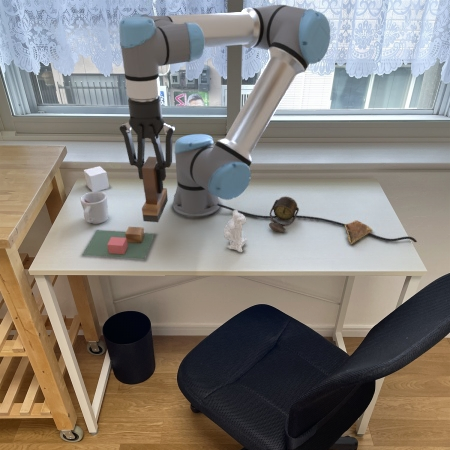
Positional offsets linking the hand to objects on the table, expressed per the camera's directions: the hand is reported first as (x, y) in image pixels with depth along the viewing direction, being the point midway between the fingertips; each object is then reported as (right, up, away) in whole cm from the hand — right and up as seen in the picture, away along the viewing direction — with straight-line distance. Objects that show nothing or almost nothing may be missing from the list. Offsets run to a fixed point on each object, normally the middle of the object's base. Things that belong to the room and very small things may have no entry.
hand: (153, 190), depth 116 cm
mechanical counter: (+36, -5, +23) cm, 43 cm away
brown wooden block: (0, -5, +4) cm, 6 cm away
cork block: (-8, -11, +15) cm, 20 cm away
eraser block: (-12, -15, +10) cm, 21 cm away
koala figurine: (+22, -13, +13) cm, 29 cm away
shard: (+60, -9, +18) cm, 63 cm away
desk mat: (-12, -13, +13) cm, 22 cm away
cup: (-22, -5, +22) cm, 32 cm away
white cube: (-26, +11, +40) cm, 50 cm away
